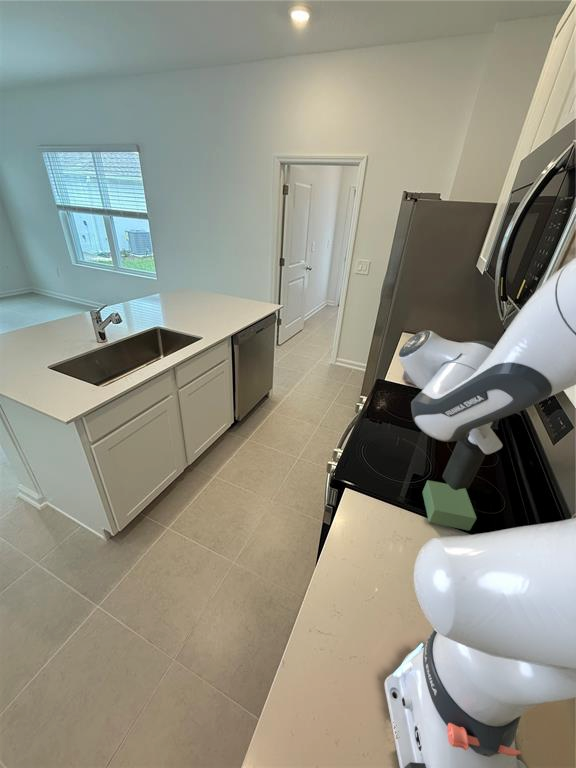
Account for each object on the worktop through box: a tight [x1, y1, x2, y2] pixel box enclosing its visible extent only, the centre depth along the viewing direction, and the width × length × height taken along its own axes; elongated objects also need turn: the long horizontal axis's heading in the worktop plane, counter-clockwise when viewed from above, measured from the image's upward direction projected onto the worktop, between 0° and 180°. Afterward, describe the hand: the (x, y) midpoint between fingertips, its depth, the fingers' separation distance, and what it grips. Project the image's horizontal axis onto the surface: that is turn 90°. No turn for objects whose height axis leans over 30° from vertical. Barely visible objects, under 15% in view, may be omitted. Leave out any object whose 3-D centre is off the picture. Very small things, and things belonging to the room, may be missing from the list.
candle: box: [441, 421, 494, 490], centre depth 71 cm, size 5×5×25 cm
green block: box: [421, 479, 477, 532], centre depth 82 cm, size 10×10×5 cm
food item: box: [402, 370, 416, 386], centre depth 144 cm, size 14×8×10 cm, turn 147°
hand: (480, 434), depth 69 cm, fingers closed on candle, 3 cm apart
